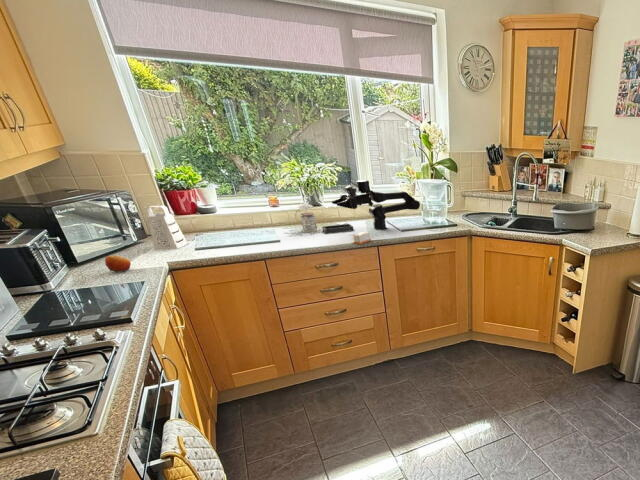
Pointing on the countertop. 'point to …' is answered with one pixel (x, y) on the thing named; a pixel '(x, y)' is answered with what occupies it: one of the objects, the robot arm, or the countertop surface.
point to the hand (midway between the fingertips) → (334, 203)
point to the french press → (309, 217)
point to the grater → (165, 230)
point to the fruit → (117, 263)
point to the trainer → (361, 237)
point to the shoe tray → (337, 228)
